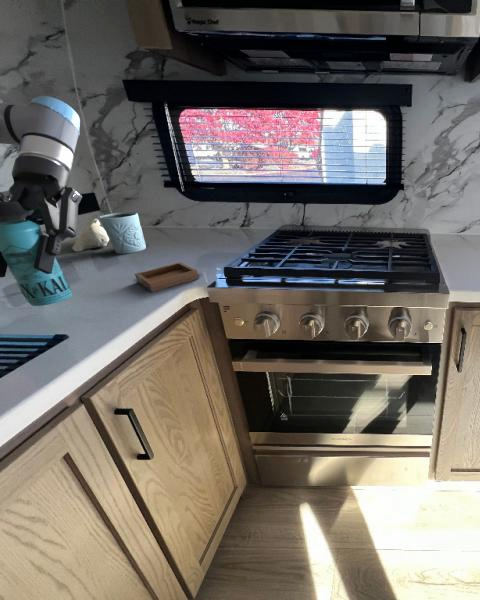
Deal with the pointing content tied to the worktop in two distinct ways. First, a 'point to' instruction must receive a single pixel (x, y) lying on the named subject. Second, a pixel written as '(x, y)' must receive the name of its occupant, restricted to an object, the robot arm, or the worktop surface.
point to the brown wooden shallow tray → (166, 276)
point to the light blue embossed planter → (124, 232)
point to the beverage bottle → (29, 259)
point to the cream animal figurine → (92, 237)
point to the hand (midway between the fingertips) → (19, 272)
